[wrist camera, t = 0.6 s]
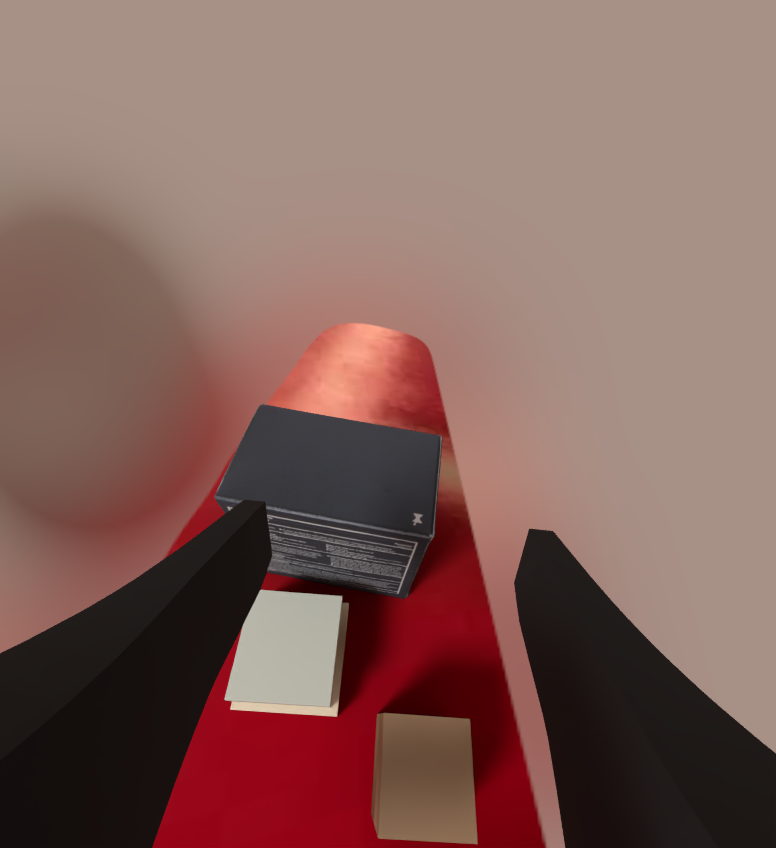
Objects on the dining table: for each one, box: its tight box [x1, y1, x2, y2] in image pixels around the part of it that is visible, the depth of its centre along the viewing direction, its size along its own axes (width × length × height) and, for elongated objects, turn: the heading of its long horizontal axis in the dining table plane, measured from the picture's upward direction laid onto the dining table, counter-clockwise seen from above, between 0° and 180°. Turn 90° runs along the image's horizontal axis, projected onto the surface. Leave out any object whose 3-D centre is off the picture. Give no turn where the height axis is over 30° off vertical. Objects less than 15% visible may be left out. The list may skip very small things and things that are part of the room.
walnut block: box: [371, 713, 477, 844], centre depth 19 cm, size 4×4×5 cm
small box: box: [215, 404, 442, 599], centre depth 23 cm, size 11×6×10 cm, turn 81°
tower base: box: [231, 603, 349, 717], centre depth 23 cm, size 6×6×2 cm
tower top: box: [225, 590, 342, 708], centre depth 21 cm, size 5×5×2 cm
